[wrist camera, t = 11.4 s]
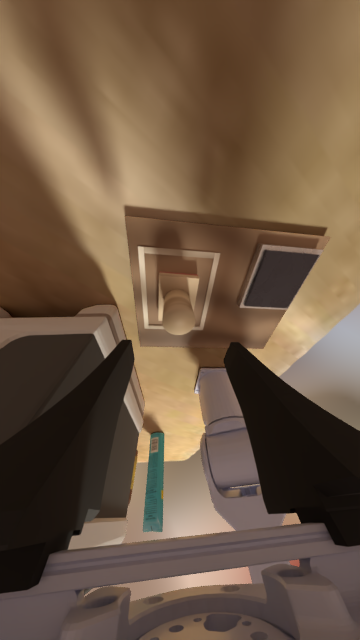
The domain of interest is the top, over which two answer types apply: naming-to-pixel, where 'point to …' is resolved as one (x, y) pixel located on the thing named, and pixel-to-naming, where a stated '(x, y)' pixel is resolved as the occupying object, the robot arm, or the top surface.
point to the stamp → (177, 301)
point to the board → (203, 279)
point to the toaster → (56, 382)
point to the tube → (154, 485)
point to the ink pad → (276, 276)
